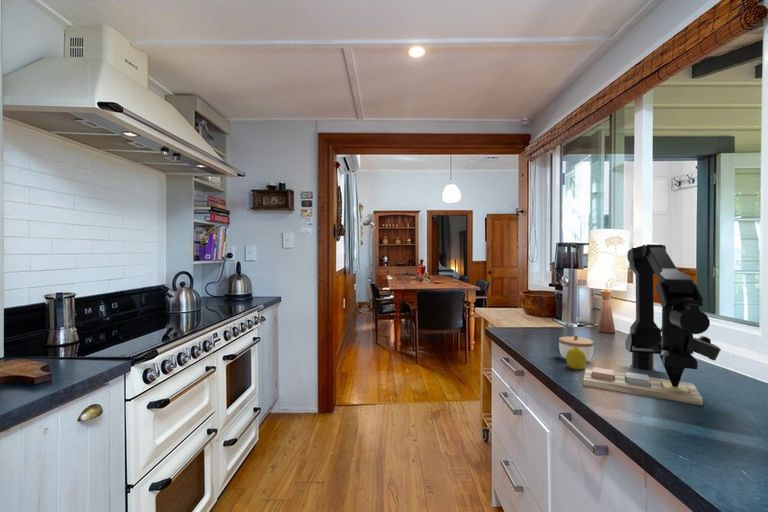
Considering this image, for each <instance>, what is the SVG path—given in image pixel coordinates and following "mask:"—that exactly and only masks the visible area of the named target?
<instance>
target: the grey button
mask: <svg viewBox="0 0 768 512" xmlns="http://www.w3.org/2000/svg"><path fill="white" fill-rule="evenodd" d="M625 374H626V382H625V383H631V384H637V385H643V386H649V387H650V379H649V377H650V376H649V375H648V374H643V373H637V372H629V371H626V372H625Z"/></svg>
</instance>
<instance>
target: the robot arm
mask: <svg viewBox="0 0 768 512" xmlns="http://www.w3.org/2000/svg"><path fill="white" fill-rule="evenodd" d="M626 257H627V261H628V263H629V268H630V269H631V270H632V272H633V274H634V276H635V320H634V322H633V323H632V324H631V325H630V327H629V333H628V334H627V337H626V339H625V341H624V345H625V350H627V351H628V352H629V353H631V364H630V365H629V367H630V368H631V369H637V370H643V371H644V370H645V371H654V372H655V371H656V369H655V368H654V366H655V365H654V359H655V357H654V356H655V355H659V358H660V360H661V362H662V364H663V367H664V369H665V372H666V375H667V376H668V380H670V381H671V384H672V386H674V387H678V385H679V382H681V379H682V376H683V373H684V370H685V369H689V370H698V367H699V366H698V365H699V364H698V362H699V361H698V360H697V358H695V356H693V355H694V353H696V354H698V355H701V356H702V357H706V358H708V359H709V360H711V361H716V360H717V358H718V356H719V354H720V352H721V350H722V349H721V348H720V346H718V345H716V344H714V343H712V342H711V339H710V337H707V336H704V335H700V334H703V333H705V332H706V331H707V330H708V329H709V328H710V324H711V322H710V319H709V316H708V315H707V313H705V312H703V310H702V311H701V310H700V307H703V305H704V304H703V301H704V298H703V296H702V294H701V292H700V290H699V287H698V286H697V284H696V282H694V280H693V278H691V276H690V275H688V274H687V273H685V272H682V271H680V270H678V268H677V267H676V264H675V263H674V261H673V260H672V258H671V256H670V255H669V254H668V252H667V248H666V244H664V243H663V244H662V243H646V244H643V245H640V246H633V247H632V248H630V249H629V250H627V256H626ZM654 274H655V276H656V278H657V282H656V285H655V291H656V294H657V296H658V298H659V299H660V302H661V303H660V306H661V327H659V326H658V325H657V323H655V311H654V310H655V307H654V302H655V301H654V300H655V299H654V296H655V295H654ZM694 335H700V336H699V337H695V336H694ZM662 352H663V353H662ZM654 354H655V355H654Z"/></svg>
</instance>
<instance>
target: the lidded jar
mask: <svg viewBox="0 0 768 512" xmlns="http://www.w3.org/2000/svg"><path fill="white" fill-rule="evenodd" d="M594 345H595V343H594V341H593V340H592V339H589V338H584V337H580V336H578V335H577V334H574V335H573V336H560V337H558V347H559V349H558V350H559V353H560V355H561V357H562V358H563V359H565V360H566V357H567V353H568V351H569V350H570V349H572V348H575V347H578V348H579V349H581V350H582V351H583V352H584V354H585V356H586V362H589V361H590V359H591V358H592V357H593V352H594Z"/></svg>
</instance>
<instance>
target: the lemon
mask: <svg viewBox="0 0 768 512" xmlns="http://www.w3.org/2000/svg"><path fill="white" fill-rule="evenodd" d="M565 360H566V364H567V366H568V368H570V369H572V370H573V369H574V370H583V369H585V367H586V365H587V361H586V356H585V354H584V352H583V351H582V350H581V349H579V348H578V347H575V348H572V349H570V350H569V351H568V353H567V357H566V359H565Z"/></svg>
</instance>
